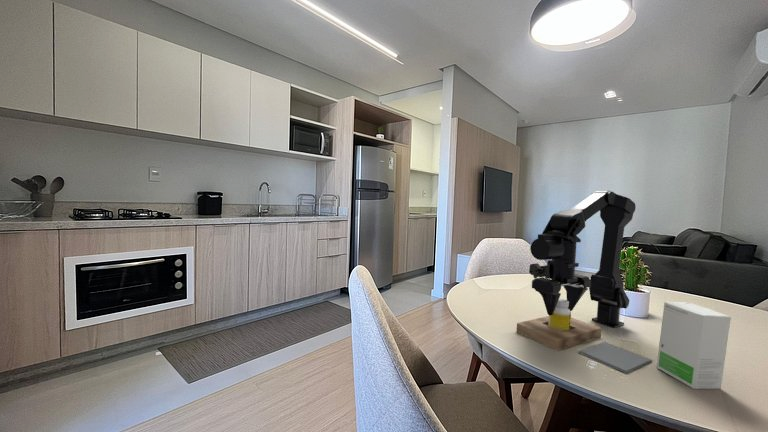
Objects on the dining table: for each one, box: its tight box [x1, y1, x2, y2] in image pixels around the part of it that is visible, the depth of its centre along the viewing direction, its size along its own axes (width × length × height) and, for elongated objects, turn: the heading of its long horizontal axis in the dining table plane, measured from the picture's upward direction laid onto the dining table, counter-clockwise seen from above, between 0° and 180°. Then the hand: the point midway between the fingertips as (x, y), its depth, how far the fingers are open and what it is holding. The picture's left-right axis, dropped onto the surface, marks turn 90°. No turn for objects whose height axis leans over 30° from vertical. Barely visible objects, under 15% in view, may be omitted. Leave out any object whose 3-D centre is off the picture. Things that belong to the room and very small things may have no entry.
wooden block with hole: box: [516, 315, 602, 351], centre depth 86 cm, size 20×12×2 cm, turn 118°
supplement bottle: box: [548, 298, 572, 332], centre depth 86 cm, size 5×5×10 cm
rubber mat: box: [578, 341, 653, 374], centre depth 74 cm, size 12×10×1 cm
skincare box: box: [656, 301, 732, 390], centre depth 65 cm, size 8×7×16 cm
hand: (560, 312), depth 86 cm, fingers open, 9 cm apart
